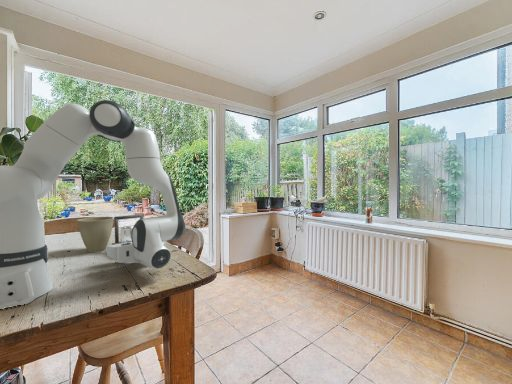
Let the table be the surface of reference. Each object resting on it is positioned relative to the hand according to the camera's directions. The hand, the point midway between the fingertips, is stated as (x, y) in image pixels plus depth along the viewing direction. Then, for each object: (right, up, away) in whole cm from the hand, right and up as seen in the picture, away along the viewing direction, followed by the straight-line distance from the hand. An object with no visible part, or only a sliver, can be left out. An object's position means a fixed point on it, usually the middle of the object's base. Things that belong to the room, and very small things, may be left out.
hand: (129, 243), depth 99 cm
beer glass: (0, -8, 0) cm, 8 cm away
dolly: (-5, -7, +15) cm, 17 cm away
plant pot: (-25, -7, +16) cm, 31 cm away
